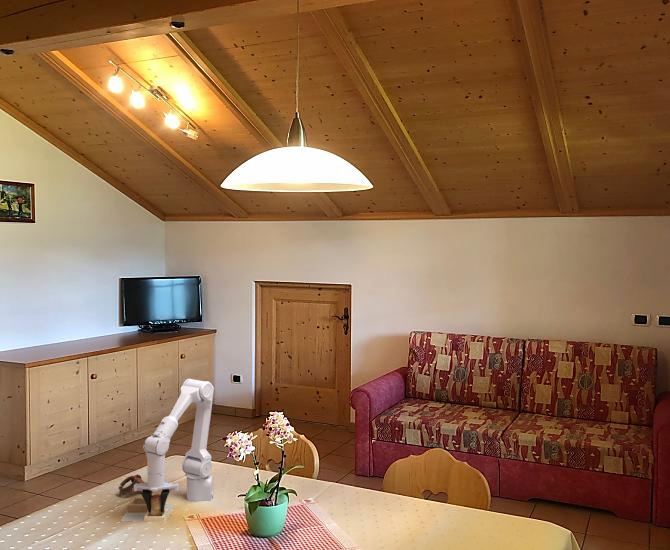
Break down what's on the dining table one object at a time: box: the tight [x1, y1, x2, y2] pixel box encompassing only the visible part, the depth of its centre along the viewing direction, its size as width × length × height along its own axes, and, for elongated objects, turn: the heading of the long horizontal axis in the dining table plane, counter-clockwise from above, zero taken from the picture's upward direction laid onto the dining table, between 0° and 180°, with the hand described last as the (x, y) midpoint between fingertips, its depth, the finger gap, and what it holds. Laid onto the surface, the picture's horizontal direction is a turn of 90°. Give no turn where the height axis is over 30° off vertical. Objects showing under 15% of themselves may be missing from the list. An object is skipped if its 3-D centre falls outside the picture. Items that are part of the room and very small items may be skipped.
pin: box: [151, 493, 162, 516], centre depth 226 cm, size 4×4×7 cm
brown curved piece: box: [118, 474, 145, 496], centre depth 248 cm, size 12×9×8 cm
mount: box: [120, 496, 175, 522], centre depth 230 cm, size 15×14×4 cm
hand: (156, 511), depth 227 cm, fingers closed on pin, 4 cm apart
